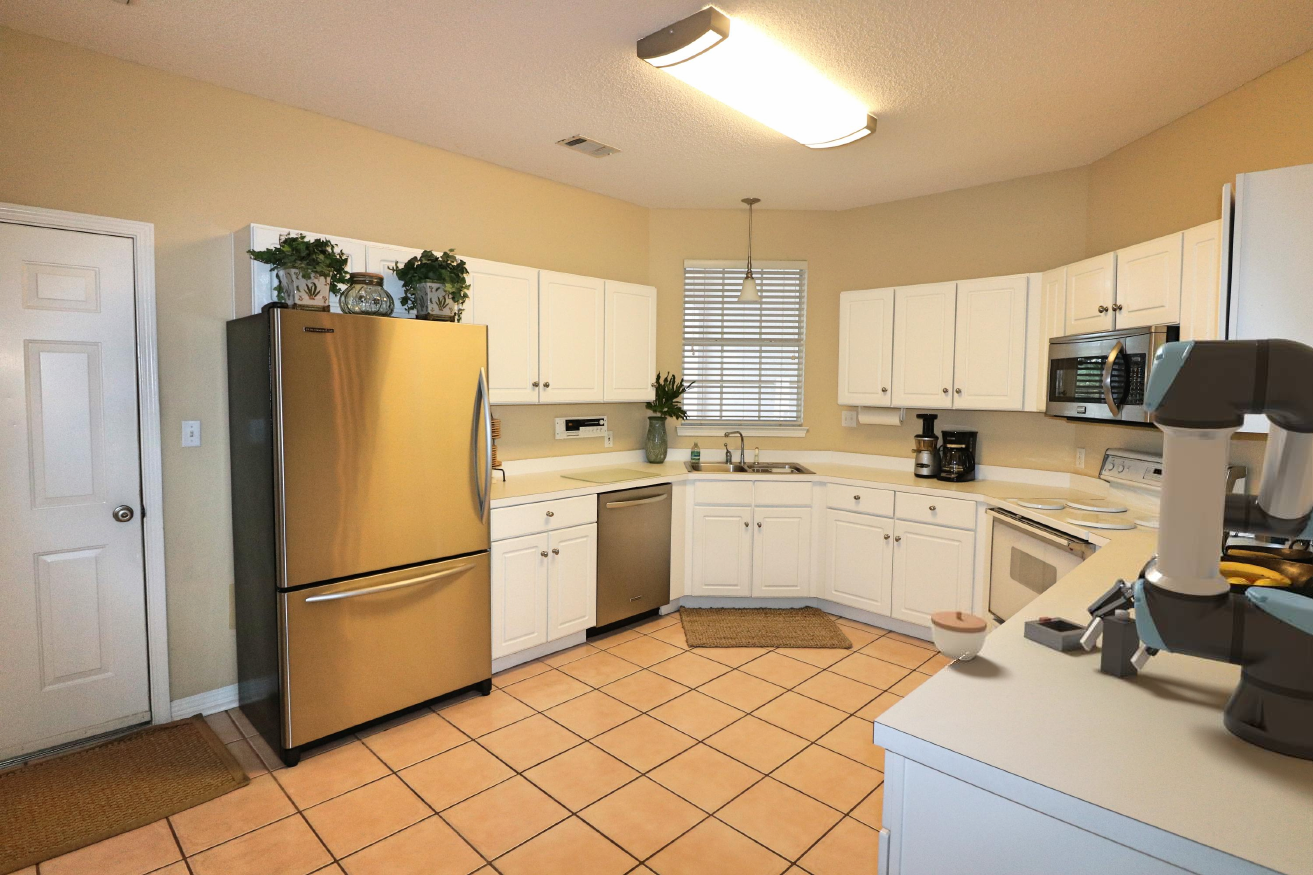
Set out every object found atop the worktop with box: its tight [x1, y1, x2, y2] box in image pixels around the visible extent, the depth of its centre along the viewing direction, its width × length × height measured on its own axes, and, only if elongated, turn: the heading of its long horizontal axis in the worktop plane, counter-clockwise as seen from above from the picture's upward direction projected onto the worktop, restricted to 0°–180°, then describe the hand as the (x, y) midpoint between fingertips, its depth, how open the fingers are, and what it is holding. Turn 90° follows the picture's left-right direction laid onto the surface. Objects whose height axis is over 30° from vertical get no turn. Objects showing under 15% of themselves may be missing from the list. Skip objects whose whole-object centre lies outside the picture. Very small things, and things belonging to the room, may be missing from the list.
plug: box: [1100, 610, 1141, 679], centre depth 137 cm, size 4×5×12 cm
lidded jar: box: [930, 610, 988, 661], centre depth 145 cm, size 11×11×9 cm
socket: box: [1023, 616, 1098, 652], centre depth 154 cm, size 10×10×4 cm
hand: (1109, 655), depth 136 cm, fingers open, 10 cm apart
